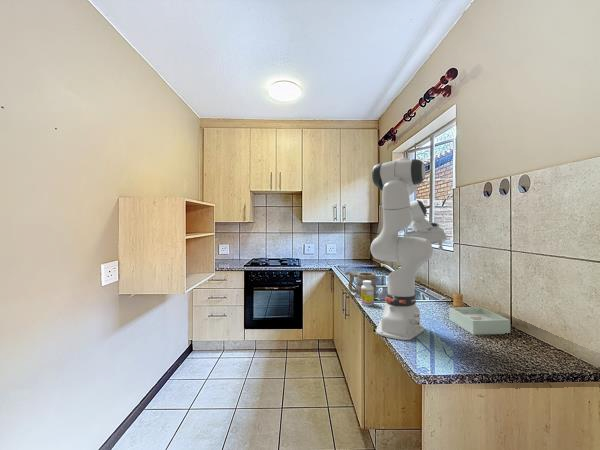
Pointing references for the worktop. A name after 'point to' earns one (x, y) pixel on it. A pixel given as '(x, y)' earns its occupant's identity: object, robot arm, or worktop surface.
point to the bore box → (479, 320)
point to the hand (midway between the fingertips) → (433, 251)
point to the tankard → (360, 279)
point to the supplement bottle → (367, 293)
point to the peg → (457, 300)
